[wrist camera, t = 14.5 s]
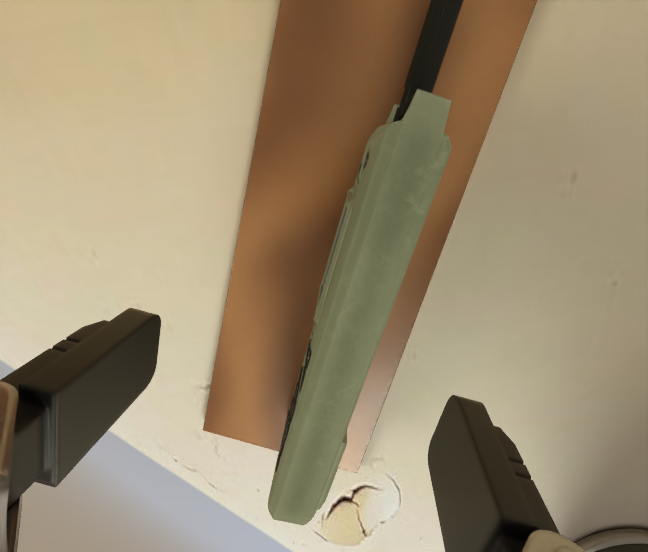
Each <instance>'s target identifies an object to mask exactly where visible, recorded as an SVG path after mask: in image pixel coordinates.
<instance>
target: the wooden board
mask: <svg viewBox="0 0 648 552" xmlns="http://www.w3.org/2000/svg"><path fill="white" fill-rule="evenodd" d="M430 2H431V0H281V2H280V8H279V13H278V19H277V24H276V30H275V35H274V41H273V46H272V52H271V57H270V63H269V68H268V74H267V80H266V85H265V91H264V96H263V102H262V107H261V113H260V118H259V124H258V129H257V135H256V140H255V146H254V151H253V157H252V162H251V168H250V173H249V179H248V184H247V190H246V196H245V201H244V207H243V212H242V218H241V223H240V229H239V234H238V240H237V245H236V251H235V256H234V262H233V267H232V273H231V278H230V284H229V289H228V295H227V300H226V306H225V312H224V317H223V323H222V328H221V334H220V339H219V345H218V350H217V356H216V361H215V367H214V372H213V378H212V383H211V389H210V394H209V400H208V405H207V411H206V416H205V422H204V428H203V430H204V431H207V432H211V433H214V434H218V435H222V436H225V437H229V438H232V439H236V440H240V441H243V442H247V443H250V444H254V445H258V446H261V447H265V448H268V449H272V450H276V451H279V449H280V445H281V440H282V436H283V431H284V427H285V422H286V418H287V414H288V411H289V408H290V405H291V401H292V398H293V395H294V391H295V387H296V384H297V381H298V378H299V374H300V371H301V367H302V364H303V360H304V357H305V354H306V350H307V347H308V343H309V340H310V336H311V333H312V330H313V326H314V323H315V321H314V319H313V318H314V316H315V312H316V306H317V301H318V296H319V290H320V285H321V282H322V279H323V276H324V272H325V269H326V265H327V262H328V259H329V255H330V252H331V248H332V245H333V242H334V238H335V235H336V231H337V228H338V225H339V221H340V218H341V214H342V211H343V208H344V204H345V201H346V197H347V192H348V190H350V189H351V188H352V187H353V186H354V183H355V180H356V176H357V173H358V169H359V166H360V163H361V160H362V158H363V155H364V151H365V146H366V144H367V142H368V140H369V138H370V136H371V135H372V134H373V133H374V131H375V130H376V129H377V128H378V127H379V126H382V125H384V124H386V122H387V120H388V117H389V115H390V113H391V111H392V108H393V106H394V104H398V105H400V103H401V99H402V96H403V93H404V90H405V87H404V84H405V81H406V78H407V75H408V72H409V69H410V65H411V62H412V59H413V56H414V53H415V50H416V46H417V43H418V40H419V37H420V34H421V30H422V27H423V24H424V21H425V18H426V15H427V11H428V8H429V5H430ZM536 2H537V0H464V1H463V4H462V7H461V10H460V12H459V15H458V18H457V21H456V24H455V27H454V30H453V33H452V36H451V39H450V42H449V45H448V48H447V51H446V54H445V56H444V59H443V62H442V65H441V68H440V71H439V74H438V77H437V80H436V83H435V86H434V89H433V92H432V94H435V95H438V96H441V97H444V98H447V99H450V100H451V105H450V109H449V113H448V117H447V121H446V125H445V129H444V134H446V135H447V136H449V138H450V143H451V147H452V148H451V152H450V155H449V159H448V161H447V164H446V167H445V169H444V172H443V174H442V177H441V180H440V182H439V185H438V188H437V190H436V193H435V196H434V198H433V201H432V204H431V206H430V209H429V212H428V214H427V217H426V220H425V222H424V225H423V228H422V230H421V233H420V236H419V238H418V241H417V244H416V246H415V249H414V252H413V254H412V257H411V260H410V262H409V265H408V268H407V270H406V273H405V276H404V278H403V281H402V284H401V286H400V289H399V292H398V294H397V297H396V300H395V302H394V305H393V308H392V310H391V313H390V316H389V318H388V321H387V324H386V326H385V329H384V332H383V334H382V337H381V340H380V342H379V345H378V348H377V350H376V353H375V356H374V358H373V361H372V364H371V366H370V369H369V372H368V374H367V377H366V380H365V382H364V385H363V388H362V390H361V393H360V396H359V398H358V401H357V404H356V406H355V409H354V412H353V414H352V417H351V420H350V422H349V425H348V428H347V446H346V448H345V451H344V453H343V456H342V459H341V461H340V464H339V467H338V468H340V469H344V470H348V471H351V472H355V473H357V472H358V469H359V467H360V464H361V461H362V459H363V456H364V454H365V451H366V448H367V446H368V443H369V440H370V438H371V435H372V433H373V430H374V427H375V425H376V422H377V419H378V417H379V414H380V412H381V409H382V406H383V404H384V401H385V398H386V396H387V393H388V391H389V388H390V385H391V383H392V380H393V377H394V375H395V372H396V370H397V367H398V364H399V362H400V359H401V356H402V354H403V351H404V349H405V346H406V343H407V341H408V338H409V335H410V333H411V330H412V328H413V325H414V322H415V320H416V317H417V314H418V312H419V309H420V307H421V304H422V301H423V299H424V296H425V293H426V291H427V288H428V286H429V283H430V280H431V278H432V275H433V272H434V270H435V267H436V265H437V262H438V259H439V257H440V254H441V251H442V249H443V246H444V244H445V241H446V238H447V236H448V233H449V230H450V228H451V225H452V223H453V220H454V217H455V215H456V212H457V209H458V207H459V204H460V202H461V199H462V196H463V194H464V191H465V188H466V186H467V183H468V181H469V178H470V175H471V173H472V170H473V167H474V165H475V162H476V160H477V157H478V154H479V152H480V149H481V146H482V144H483V141H484V139H485V136H486V133H487V131H488V128H489V126H490V123H491V120H492V118H493V115H494V112H495V110H496V107H497V105H498V102H499V99H500V97H501V94H502V91H503V89H504V86H505V84H506V81H507V78H508V76H509V73H510V70H511V68H512V65H513V63H514V60H515V57H516V55H517V52H518V49H519V47H520V44H521V42H522V39H523V36H524V34H525V31H526V28H527V26H528V23H529V21H530V18H531V15H532V13H533V10H534V7H535V5H536Z"/></svg>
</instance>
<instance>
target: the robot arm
mask: <svg viewBox="0 0 648 552" xmlns="http://www.w3.org/2000/svg"><path fill="white" fill-rule="evenodd" d="M160 327H161V319H160V316H159V315H156V314H152V313H148V312H145V311H141V310H137V309H133V308H129V309H127V310H125V311H124V312H123V313H121V314H120V315H118V316H117V317H115V318H114V319H112V320H111V321H105V320H104V321H100V322H97V323H94V324H91V325H88V326H85V327H82V328H81V329H79V330H78V331H76V332H74V333H73V334H71V335H70V336H68V337H67V339H66V340H62V341H60V342H59V343H57V344H56V345H54V346H53V348H52V349H50V348H49V349H48V350H46V351H45V352H43V353H42V354H40V355H39V356H37V357H35V358H34V359H32V360H31V361H29V362H28V363H26V364H25V365H23V366H21V367H20V368H18V369H17V370H15V371H14V372H12V373H11V374H9V375H7V376H6V377H4V378H3V379H1V380H0V552H17V546H18V535H19V527H20V517H21V508H22V494H23V493H24V492H25V491H26V490H27V489H28V488H29V487H30V486H31V485H32V484H33V483H34V482H38V483H42V484H45V485H49V486H53V487H57V485H58V484H59V483H60V482H61V481H62V480H63V479H64V478H65V477H66V476H67V474H68V473H69V472H70V471H71V470H72V469H73V467H75V466H76V464H77V463H78V462H79V461H80V460H81V459H82V458H83V457H84V456H85V455H86V453H87V452H88V451H89V450H90V449H91V448H92V446H93V445H94V444H96V442H97V441H98V440H99V439H100V438H101V437H102V436H103V435H104V434H105V432H106V431H107V430H108V429H109V428H110V427H111V426H112V425H113V424H114V423H115V421H116V420H117V419H118V418H119V417H120V416H121V415H122V414H123V413H124V412H125V410H126V409H127V408H128V407H129V406H130V405H131V404H132V403H133V402H134V401H135V399H136V398H137V397H138V396H139V395H140V394H141V393H142V392H143V391H144V389H145V388H146V387H147V386H148V384H149V383H150V381H151V379H152V377H153V375H154V372H155V369H156V364H157V355H158V346H159V336H160ZM428 465H429V471H430V476H431V481H432V486H433V491H434V496H435V501H436V506H437V511H438V516H439V521H440V526H441V531H442V536H443V541H444V547H445V552H648V530H642V529H617V530H610V531H604V532H600V533H597V534H594V535H591V536H588V537H586V538H584V539H581V540H579V541H578V542H576V543H574V542H573V541H571V540H570V539H568V538H566V537H564V536H563V535H560V533H559V531H558V529H557V527H556V525H555V523H554V521H553V519H552V517H551V515H550V513H549V511H548V510H547V508H546V506H545V504H544V502H543V500H542V498H541V496H540V494H539V492H538V490H537V488H536V486H535V484H534V482H533V480H531V476H530V474H529V472H528V470H527V468H526V466H525V465H523V460H522V458H521V456H520V454H519V452H518V450H517V448H516V446H515V444H514V443H513V442H512V441H511V440H510V438H509V437H508V436H507V435H506V434H505V433H504V432H503V431H502V430H501V428H500V427H496V426H493V424H492V422H491V419H490V417H489V415H488V413H487V411H486V408H485V406H484V405H483V403H481V402H478V401H474V400H470V399H466V398H463V397H459V396H455V395H452V396H451V397H450V398H449V399H448V401H447V403H446V406H445V408H444V411H443V413H442V415H441V418H440V420H439V422H438V425H437V427H436V429H435V432H434V434H433V436H432V439H431V442H430V446H429V451H428Z"/></svg>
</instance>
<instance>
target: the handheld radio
mask: <svg viewBox="0 0 648 552" xmlns="http://www.w3.org/2000/svg"><path fill="white" fill-rule="evenodd" d="M463 1H464V0H431V2H430V5H429V8H428V11H427V15H426V18H425V21H424V24H423V27H422V30H421V34H420V37H419V40H418V43H417V46H416V50H415V53H414V56H413V59H412V62H411V65H410V69H409V72H408V75H407V78H406V81H405V84H404V87H405V90H404V93H403V96H402V99H401V103H400V105H398V104H394V106H393V108H392V111H391V113H390V115H389V117H388V120H387V122H386V124H384V125H382V126H379V127H378V128H377V129H376V130H375V131H374V133H373V134H372V135H371V136H370V138H369V140H368V142H367V144H366V146H365V151H364V155H363V158H362V160H361V163H360V166H359V169H358V173H357V176H356V180H355V183H354V186H353V187H352V188H351V189H350V190H348V192H347V197H346V201H345V204H344V208H343V211H342V214H341V218H340V221H339V225H338V228H337V231H336V235H335V238H334V242H333V245H332V248H331V252H330V255H329V259H328V262H327V265H326V269H325V272H324V276H323V279H322V282H321V285H320V290H319V296H318V301H317V306H316V312H315V316H314V318H313V319H314V321H315V323H314V326H313V330H312V333H311V336H310V340H309V343H308V347H307V350H306V354H305V357H304V360H303V364H302V367H301V371H300V374H299V378H298V381H297V384H296V387H295V391H294V395H293V398H292V401H291V405H290V408H289V411H288V414H287V418H286V422H285V427H284V431H283V436H282V440H281V445H280V449H279V454H278V458H277V463H276V468H275V472H274V477H273V481H272V486H271V490H270V495H269V500H268V509H269V512H270V514H271V516H272V518H273V519H275V520H280V521H285V522H289V523H294V524H299V525H304V524H307V523H308V522H309V521H310V520H311V519H312V518H313V517H314V515H315V513H316V510H318V509H320V508H321V507H322V505H323V503H324V502H325V500H326V498H327V495H328V493H329V490H330V487H331V485H332V482H333V480H334V477H335V474H336V472H337V469H338V467H339V464H340V461H341V459H342V456H343V453H344V451H345V448H346V446H347V428H348V425H349V422H350V420H351V417H352V414H353V412H354V409H355V406H356V404H357V401H358V398H359V396H360V393H361V390H362V388H363V385H364V382H365V380H366V377H367V374H368V372H369V369H370V366H371V364H372V361H373V358H374V356H375V353H376V350H377V348H378V345H379V342H380V340H381V337H382V334H383V332H384V329H385V326H386V324H387V321H388V318H389V316H390V313H391V310H392V308H393V305H394V302H395V300H396V297H397V294H398V292H399V289H400V286H401V284H402V281H403V278H404V276H405V273H406V270H407V268H408V265H409V262H410V260H411V257H412V254H413V252H414V249H415V246H416V244H417V241H418V238H419V236H420V233H421V230H422V228H423V225H424V222H425V220H426V217H427V214H428V212H429V209H430V206H431V204H432V201H433V198H434V196H435V193H436V190H437V188H438V185H439V182H440V180H441V177H442V174H443V172H444V169H445V167H446V164H447V161H448V159H449V155H450V152H451V148H452V147H451V143H450V138H449V136H447V135H446V134H444V129H445V125H446V121H447V117H448V113H449V109H450V105H451V100H450V99H447V98H444V97H441V96H438V95H435V94H432V92H433V89H434V86H435V83H436V80H437V77H438V74H439V71H440V68H441V65H442V62H443V59H444V56H445V54H446V51H447V48H448V45H449V42H450V39H451V36H452V33H453V30H454V27H455V24H456V21H457V18H458V15H459V12H460V10H461V7H462V4H463Z"/></svg>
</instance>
